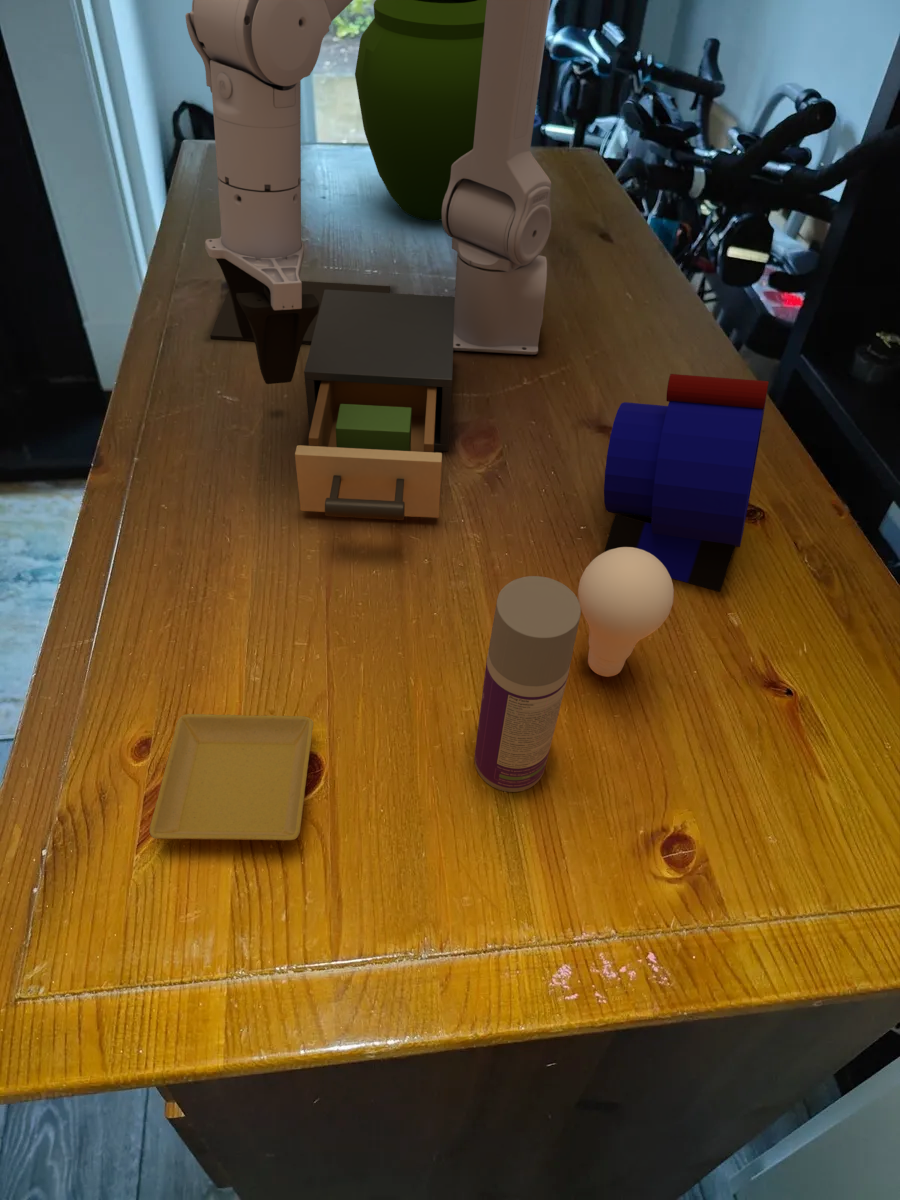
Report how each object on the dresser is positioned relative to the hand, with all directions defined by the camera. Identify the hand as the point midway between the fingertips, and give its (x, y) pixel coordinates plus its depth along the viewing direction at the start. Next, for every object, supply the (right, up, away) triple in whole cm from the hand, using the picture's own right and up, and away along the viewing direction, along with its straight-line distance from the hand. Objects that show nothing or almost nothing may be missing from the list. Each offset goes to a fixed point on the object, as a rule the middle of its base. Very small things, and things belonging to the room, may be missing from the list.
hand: (265, 358), depth 68 cm
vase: (+12, +33, +46) cm, 58 cm away
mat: (-1, +12, +25) cm, 28 cm away
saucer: (+2, -32, -15) cm, 35 cm away
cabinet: (+9, 0, +14) cm, 16 cm away
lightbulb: (+26, -25, -7) cm, 37 cm away
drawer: (+8, -9, +5) cm, 13 cm away
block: (+8, -8, +4) cm, 12 cm away
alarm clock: (+33, -13, +4) cm, 36 cm away
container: (+19, -30, -13) cm, 38 cm away
